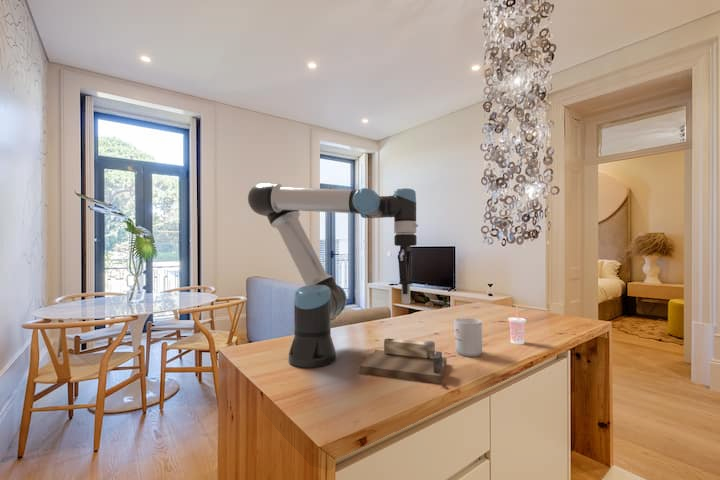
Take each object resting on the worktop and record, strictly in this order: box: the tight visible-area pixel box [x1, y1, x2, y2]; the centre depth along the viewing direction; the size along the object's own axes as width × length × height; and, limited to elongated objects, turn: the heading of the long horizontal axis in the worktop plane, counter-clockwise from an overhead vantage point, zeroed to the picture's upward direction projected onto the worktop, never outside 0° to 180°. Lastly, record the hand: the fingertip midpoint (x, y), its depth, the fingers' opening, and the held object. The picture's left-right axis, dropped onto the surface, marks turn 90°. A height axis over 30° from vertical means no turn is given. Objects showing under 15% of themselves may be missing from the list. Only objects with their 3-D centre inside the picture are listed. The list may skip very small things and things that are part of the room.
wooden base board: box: [358, 349, 448, 384], centre depth 99 cm, size 23×16×6 cm
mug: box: [453, 317, 483, 358], centre depth 115 cm, size 12×9×11 cm
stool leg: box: [383, 337, 436, 359], centre depth 105 cm, size 16×3×4 cm, turn 70°
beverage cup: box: [507, 305, 527, 345], centre depth 127 cm, size 6×6×14 cm
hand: (406, 303), depth 113 cm, fingers closed
